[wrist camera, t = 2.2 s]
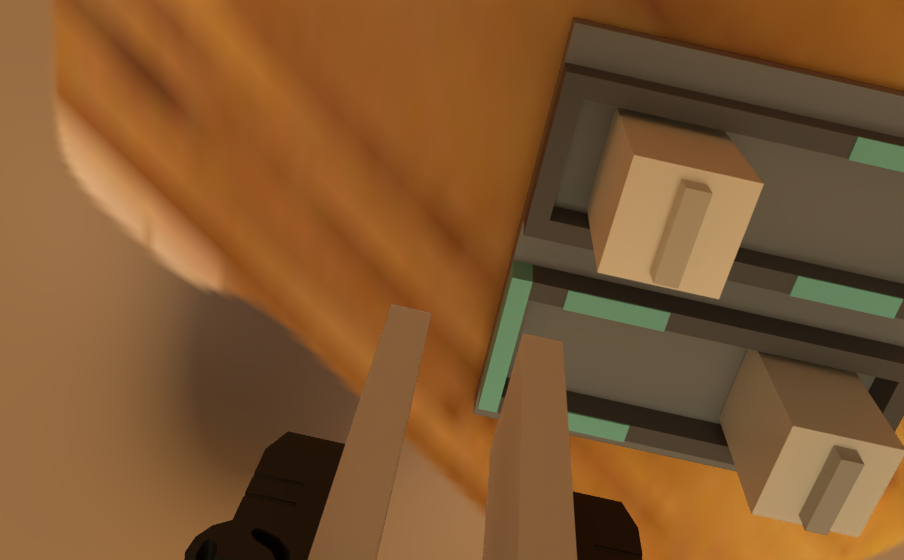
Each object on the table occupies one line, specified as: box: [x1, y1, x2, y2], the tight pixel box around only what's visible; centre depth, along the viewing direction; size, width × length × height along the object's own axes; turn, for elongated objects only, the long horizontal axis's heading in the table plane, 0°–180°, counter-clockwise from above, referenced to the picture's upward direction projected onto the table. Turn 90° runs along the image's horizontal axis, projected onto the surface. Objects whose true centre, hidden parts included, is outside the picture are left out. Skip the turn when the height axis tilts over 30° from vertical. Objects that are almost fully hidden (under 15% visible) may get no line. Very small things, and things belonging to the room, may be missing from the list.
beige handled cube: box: [719, 349, 904, 537], centre depth 32 cm, size 4×4×7 cm
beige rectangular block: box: [586, 107, 764, 299], centre depth 28 cm, size 4×4×7 cm
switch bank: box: [473, 17, 904, 471], centre depth 33 cm, size 17×16×3 cm
